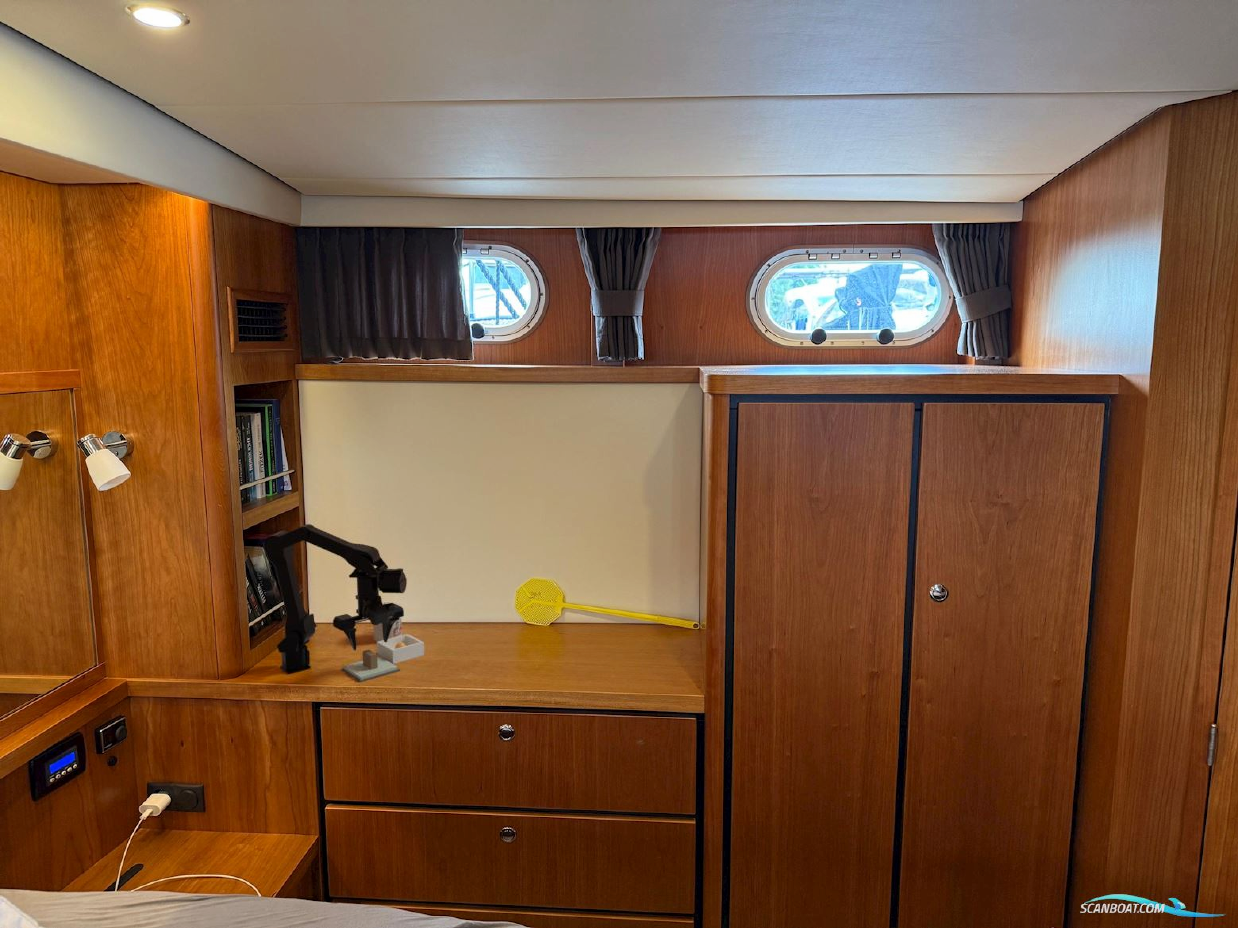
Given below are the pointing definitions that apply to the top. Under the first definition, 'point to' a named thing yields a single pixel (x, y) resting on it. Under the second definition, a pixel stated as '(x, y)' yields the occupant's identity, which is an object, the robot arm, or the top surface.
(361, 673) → the lid
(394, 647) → the dish
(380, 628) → the teacup with lid
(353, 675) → the mat
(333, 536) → the robot arm
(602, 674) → the top surface
